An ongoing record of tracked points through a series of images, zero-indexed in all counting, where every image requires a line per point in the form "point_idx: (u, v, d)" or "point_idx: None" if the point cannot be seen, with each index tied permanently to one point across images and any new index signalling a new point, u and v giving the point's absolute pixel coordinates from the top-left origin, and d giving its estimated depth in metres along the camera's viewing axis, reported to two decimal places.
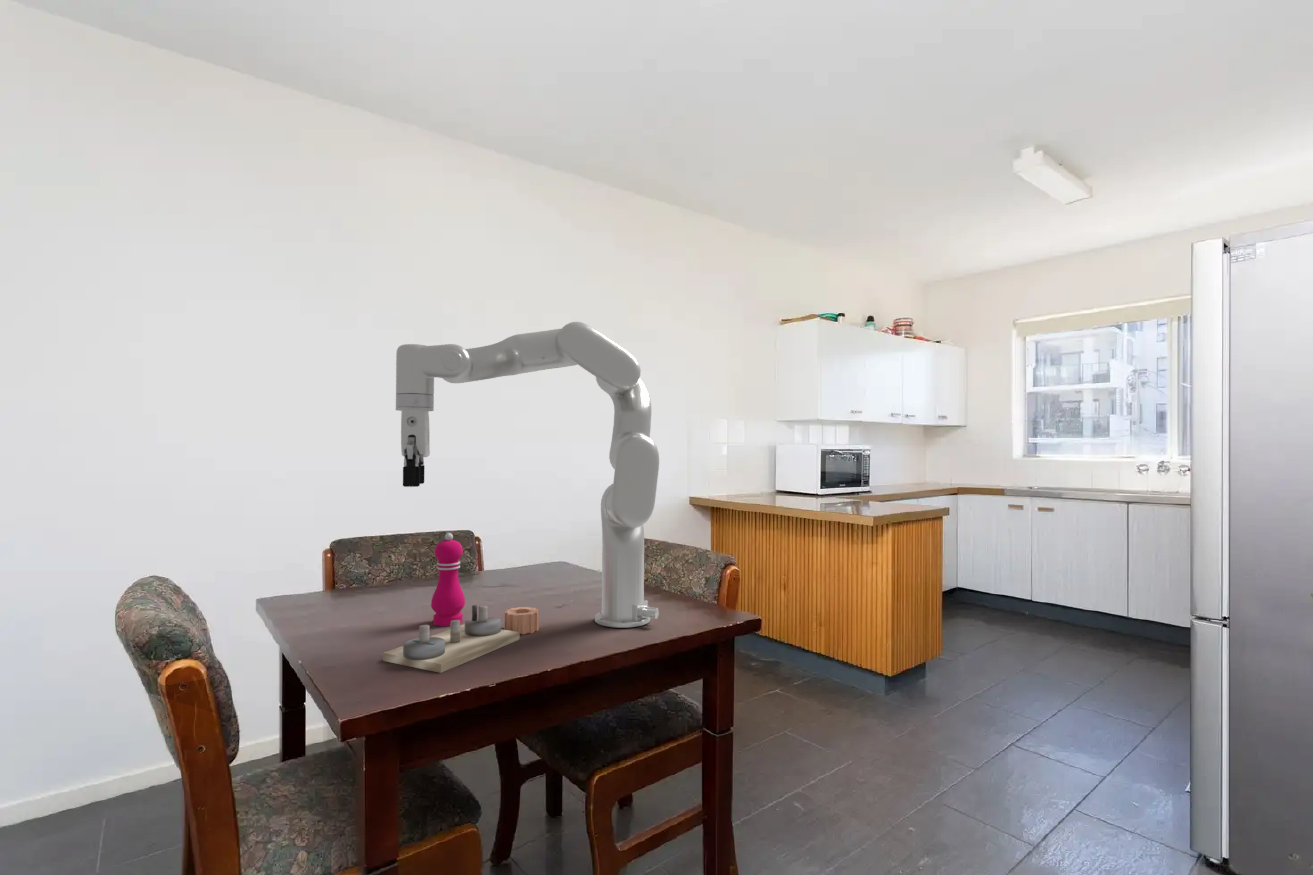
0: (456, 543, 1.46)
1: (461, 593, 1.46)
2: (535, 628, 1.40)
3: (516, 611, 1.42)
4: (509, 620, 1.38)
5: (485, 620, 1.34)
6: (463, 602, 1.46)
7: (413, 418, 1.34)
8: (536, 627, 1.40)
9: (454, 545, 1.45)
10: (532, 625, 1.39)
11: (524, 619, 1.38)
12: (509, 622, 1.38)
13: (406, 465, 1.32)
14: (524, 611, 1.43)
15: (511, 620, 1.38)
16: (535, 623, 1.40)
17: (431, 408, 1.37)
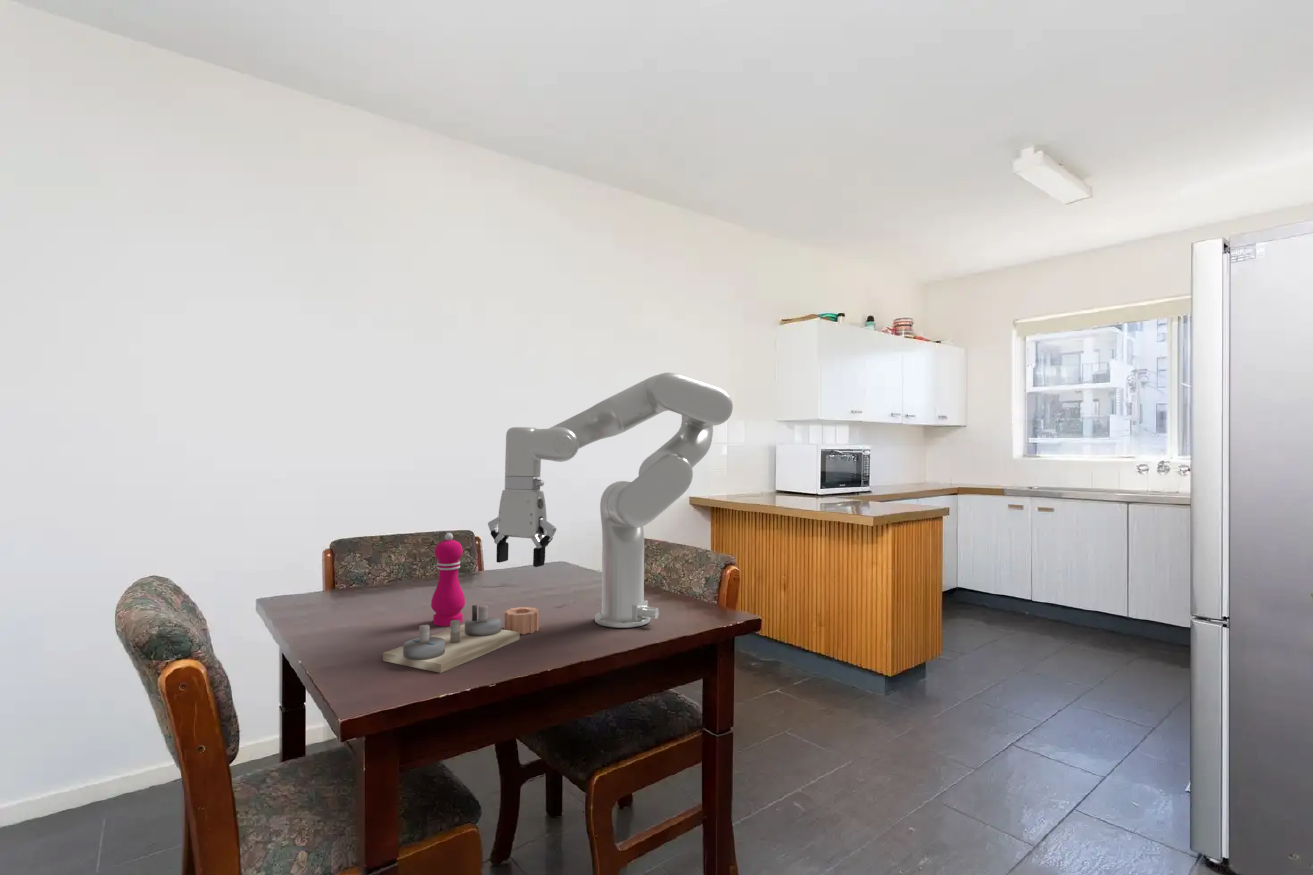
0: (456, 543, 1.46)
1: (461, 593, 1.46)
2: (535, 628, 1.40)
3: (516, 611, 1.42)
4: (509, 620, 1.38)
5: (485, 620, 1.34)
6: (463, 602, 1.46)
7: None
8: (536, 627, 1.40)
9: (454, 545, 1.45)
10: (532, 625, 1.39)
11: (524, 619, 1.38)
12: (509, 622, 1.38)
13: (541, 546, 1.38)
14: (524, 611, 1.43)
15: (511, 620, 1.38)
16: (535, 623, 1.40)
17: None
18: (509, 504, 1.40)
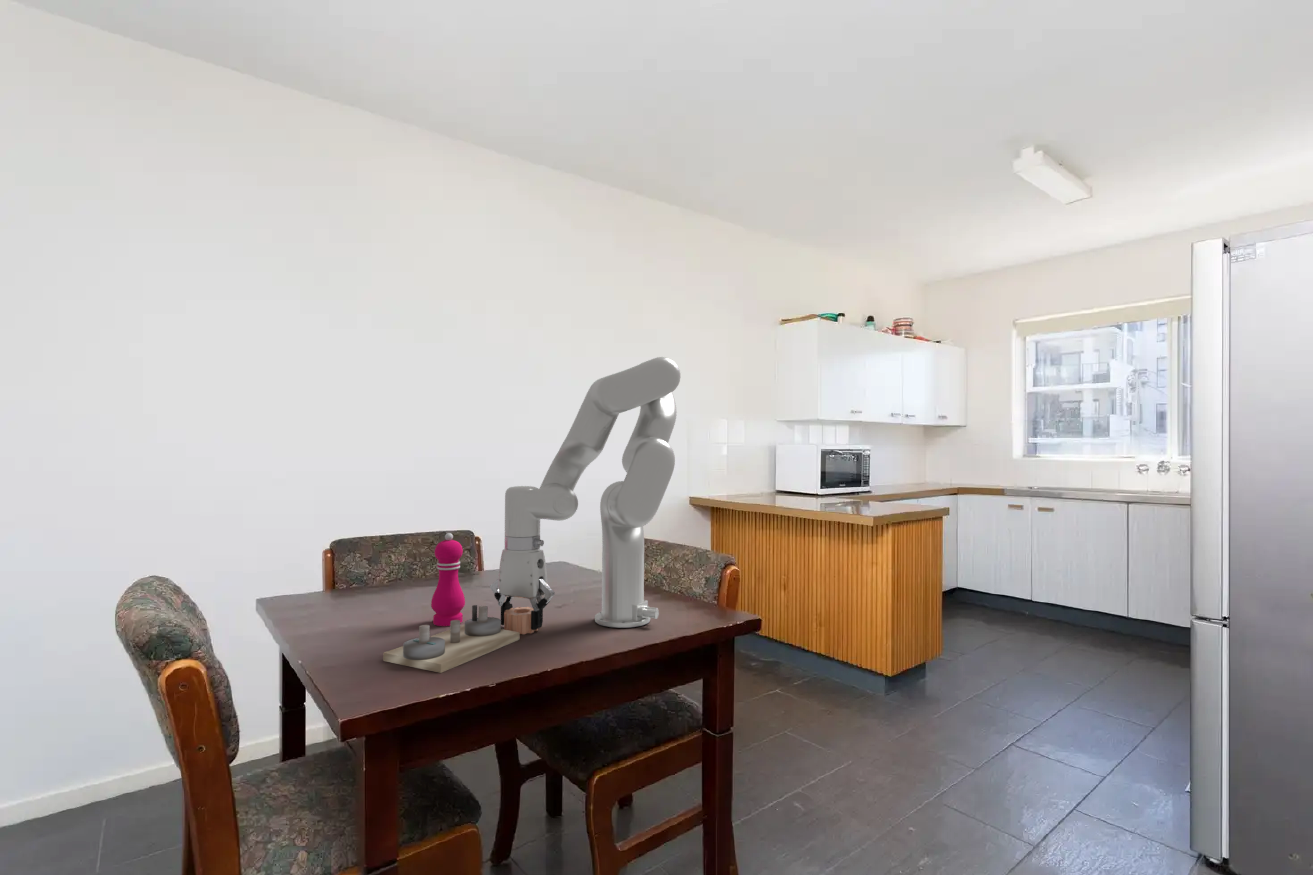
0: (456, 543, 1.46)
1: (461, 593, 1.46)
2: None
3: (516, 611, 1.42)
4: (509, 620, 1.38)
5: (485, 620, 1.34)
6: (463, 602, 1.46)
7: None
8: None
9: (454, 545, 1.45)
10: None
11: (524, 619, 1.38)
12: (509, 622, 1.38)
13: (539, 609, 1.38)
14: (524, 611, 1.43)
15: (511, 620, 1.38)
16: None
17: None
18: (509, 565, 1.40)
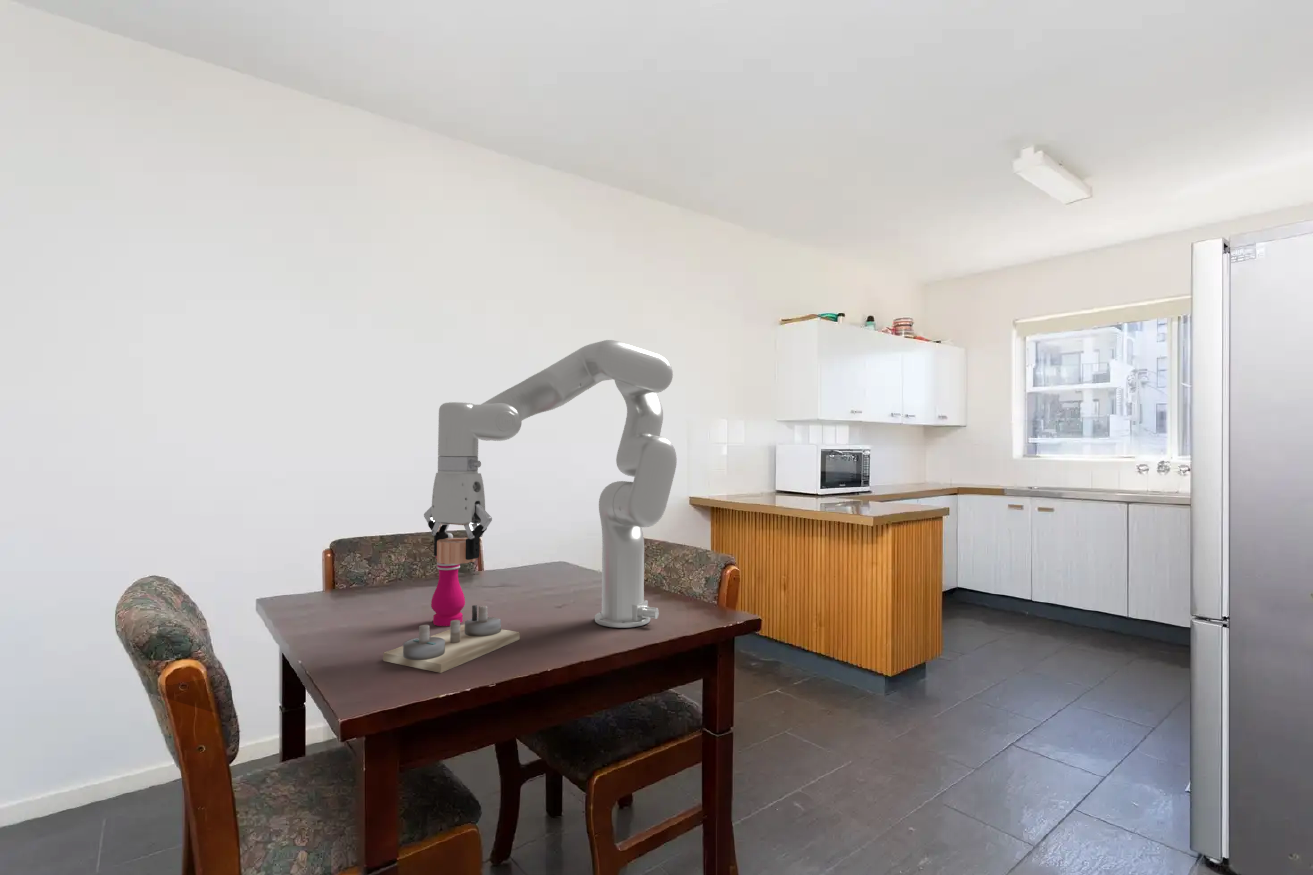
0: None
1: (461, 593, 1.46)
2: (471, 559, 1.26)
3: (451, 541, 1.28)
4: (442, 549, 1.25)
5: (485, 620, 1.34)
6: (463, 602, 1.46)
7: None
8: None
9: None
10: None
11: (457, 547, 1.24)
12: (441, 551, 1.25)
13: (474, 537, 1.24)
14: (460, 541, 1.29)
15: (443, 549, 1.25)
16: None
17: None
18: (443, 488, 1.26)
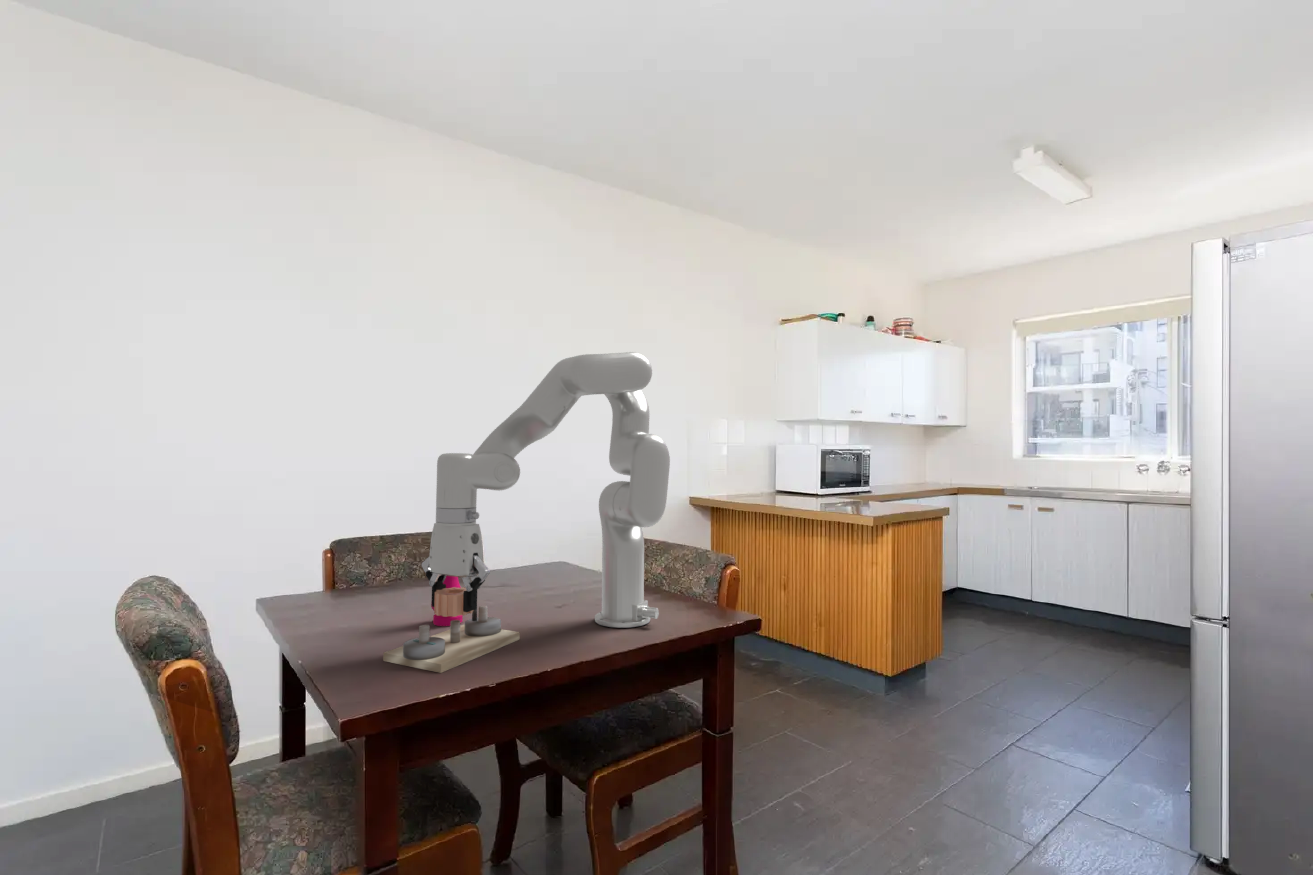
0: None
1: None
2: None
3: (448, 591, 1.28)
4: (439, 601, 1.24)
5: (485, 620, 1.34)
6: None
7: (471, 534, 1.26)
8: None
9: None
10: None
11: (455, 600, 1.24)
12: (439, 603, 1.24)
13: (472, 589, 1.24)
14: (458, 592, 1.29)
15: (441, 601, 1.24)
16: None
17: None
18: (441, 539, 1.26)
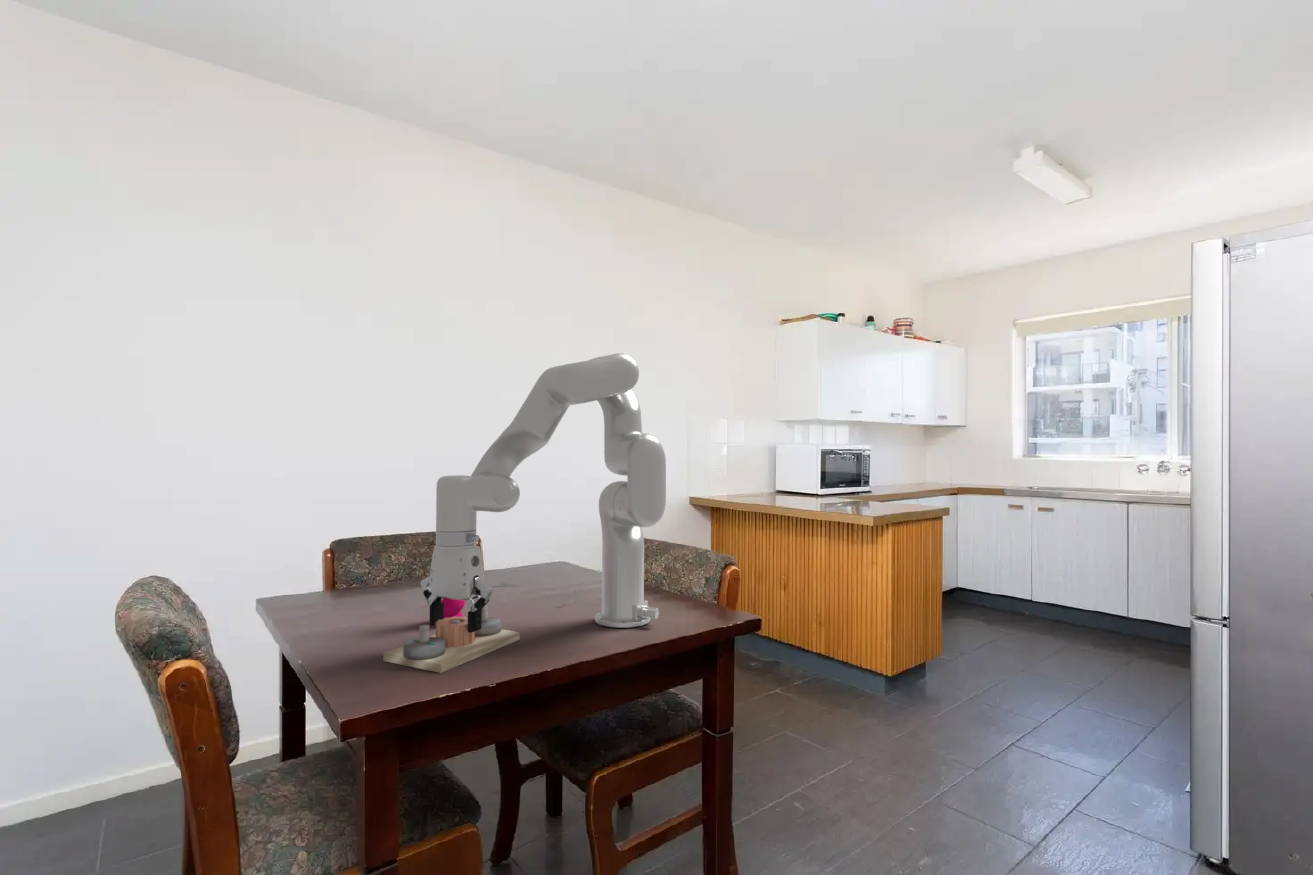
0: None
1: None
2: (470, 640, 1.26)
3: (450, 621, 1.28)
4: (440, 632, 1.24)
5: (485, 620, 1.34)
6: (463, 602, 1.46)
7: (471, 557, 1.26)
8: (471, 639, 1.26)
9: None
10: (466, 637, 1.25)
11: (456, 630, 1.24)
12: (440, 634, 1.24)
13: (476, 609, 1.24)
14: None
15: (442, 631, 1.24)
16: (470, 635, 1.26)
17: None
18: (441, 562, 1.26)
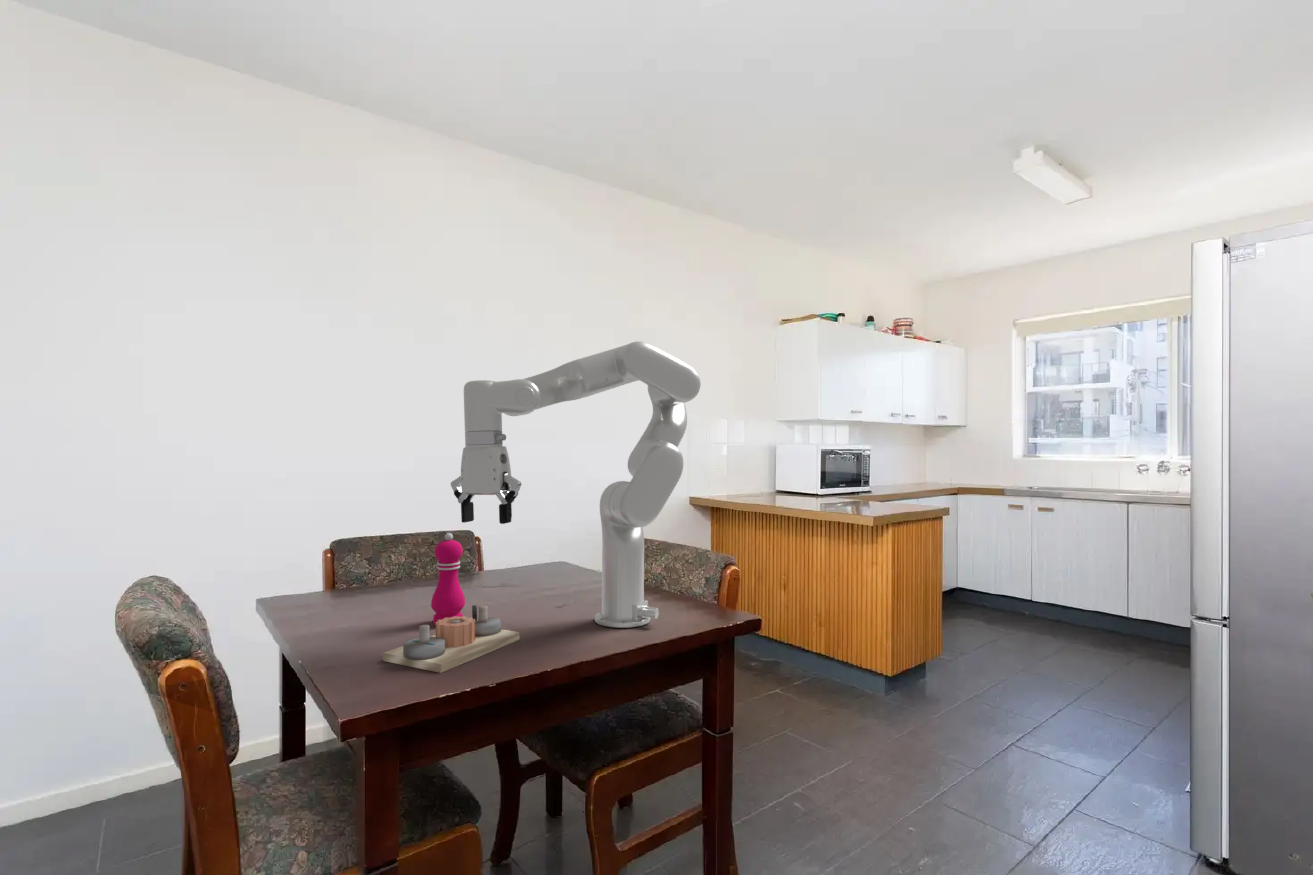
0: (456, 543, 1.46)
1: (461, 593, 1.46)
2: (470, 640, 1.26)
3: (450, 621, 1.28)
4: (440, 632, 1.24)
5: (485, 620, 1.34)
6: (463, 602, 1.46)
7: (499, 455, 1.35)
8: (471, 639, 1.26)
9: (454, 545, 1.45)
10: (466, 637, 1.25)
11: (456, 630, 1.24)
12: (440, 634, 1.24)
13: (507, 502, 1.33)
14: None
15: (442, 631, 1.24)
16: (470, 635, 1.26)
17: None
18: (471, 461, 1.35)
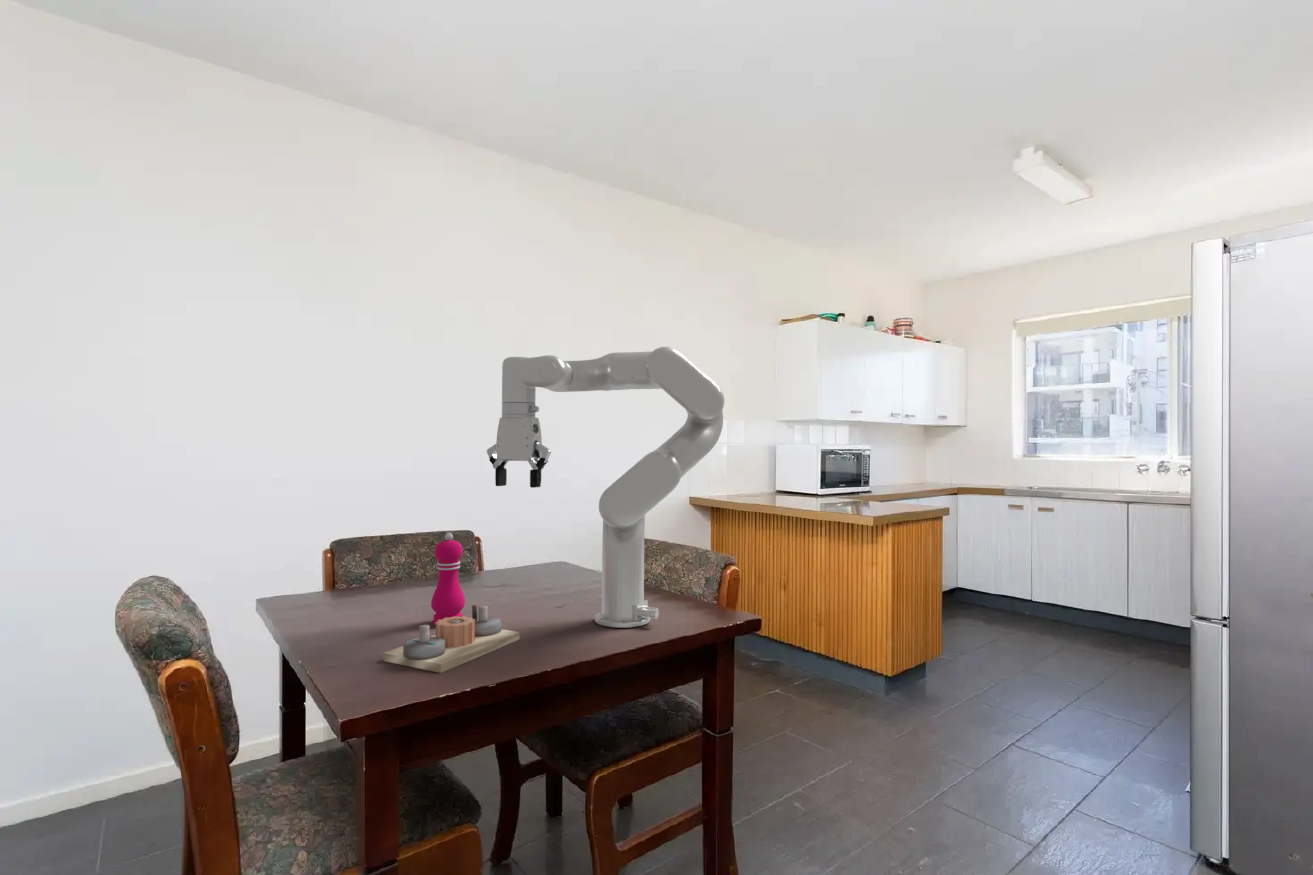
0: (456, 543, 1.46)
1: (461, 593, 1.46)
2: (470, 640, 1.26)
3: (450, 621, 1.28)
4: (440, 632, 1.24)
5: (485, 620, 1.34)
6: (463, 602, 1.46)
7: (532, 425, 1.48)
8: (471, 639, 1.26)
9: (454, 545, 1.45)
10: (466, 637, 1.25)
11: (456, 630, 1.24)
12: (440, 634, 1.24)
13: (537, 468, 1.46)
14: None
15: (442, 631, 1.24)
16: (470, 635, 1.26)
17: None
18: (506, 430, 1.48)
